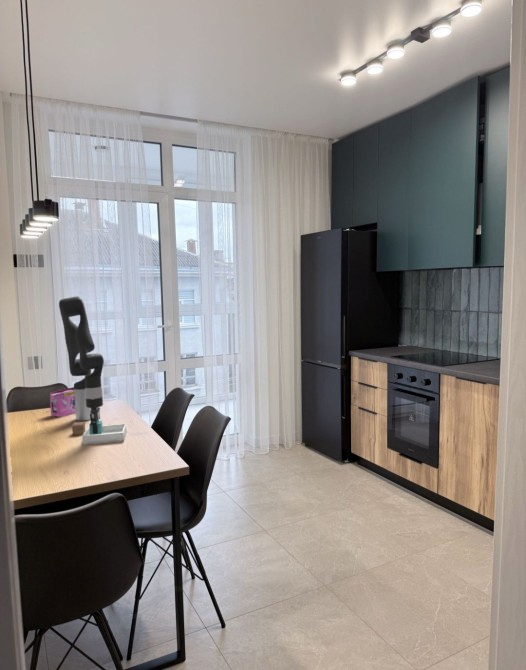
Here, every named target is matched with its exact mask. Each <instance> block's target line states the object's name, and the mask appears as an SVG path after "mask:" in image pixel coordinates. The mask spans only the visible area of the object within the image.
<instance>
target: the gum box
mask: <svg viewBox="0 0 526 670" xmlns="http://www.w3.org/2000/svg"><path fill="white" fill-rule="evenodd" d="M49 402H50V403H49V404H50V405H49V406H50V416H51V417H55V416H57V417H56V418H62V417H66V416H69V415H72V413H73V414H76V413H75V412H76V411H75V397H74V386H73V387H69V388H65V389H64V388H63V389H60V390H56V391H52V392H50V393H49ZM68 414H69V415H68ZM65 415H66V416H65Z"/></svg>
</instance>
